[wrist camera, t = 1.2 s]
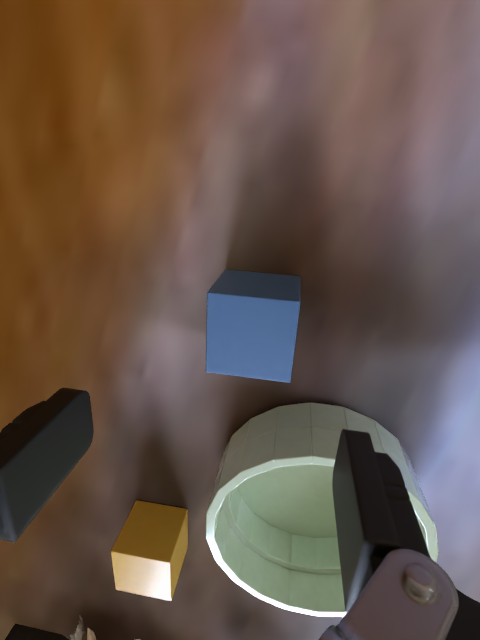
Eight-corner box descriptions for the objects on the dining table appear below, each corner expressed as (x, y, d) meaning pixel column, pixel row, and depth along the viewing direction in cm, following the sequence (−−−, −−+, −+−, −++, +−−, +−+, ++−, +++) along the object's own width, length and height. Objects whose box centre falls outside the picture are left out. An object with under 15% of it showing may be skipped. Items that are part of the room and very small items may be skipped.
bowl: (226, 386, 25) (207, 440, 20) (433, 413, 24) (469, 479, 19) (219, 524, 31) (204, 594, 26) (388, 554, 29) (407, 635, 24)
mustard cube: (136, 499, 31) (110, 551, 27) (187, 508, 30) (170, 562, 26) (139, 536, 33) (115, 590, 29) (188, 545, 32) (171, 601, 28)
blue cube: (224, 268, 22) (207, 292, 18) (300, 276, 21) (300, 301, 17) (222, 336, 24) (205, 372, 20) (292, 344, 23) (290, 383, 19)
